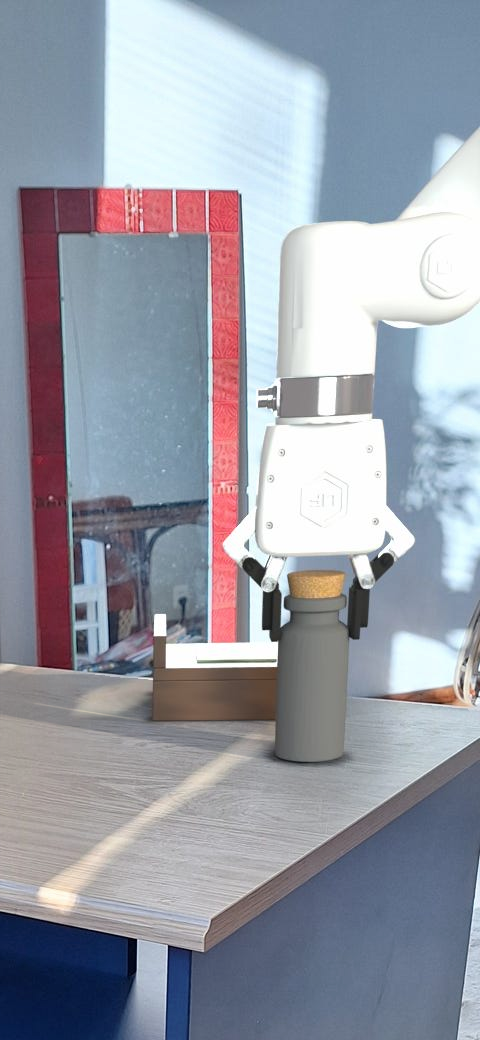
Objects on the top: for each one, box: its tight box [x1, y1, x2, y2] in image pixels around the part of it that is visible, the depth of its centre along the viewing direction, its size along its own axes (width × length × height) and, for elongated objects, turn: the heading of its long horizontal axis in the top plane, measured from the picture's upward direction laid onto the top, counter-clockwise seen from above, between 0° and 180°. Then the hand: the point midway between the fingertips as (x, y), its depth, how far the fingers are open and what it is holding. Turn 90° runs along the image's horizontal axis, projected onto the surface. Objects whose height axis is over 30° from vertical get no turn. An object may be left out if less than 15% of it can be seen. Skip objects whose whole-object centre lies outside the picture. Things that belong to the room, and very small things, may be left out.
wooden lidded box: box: [152, 613, 278, 722], centre depth 145 cm, size 16×14×8 cm
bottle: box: [274, 569, 350, 763], centre depth 123 cm, size 6×6×15 cm
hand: (313, 636), depth 122 cm, fingers closed on bottle, 5 cm apart
